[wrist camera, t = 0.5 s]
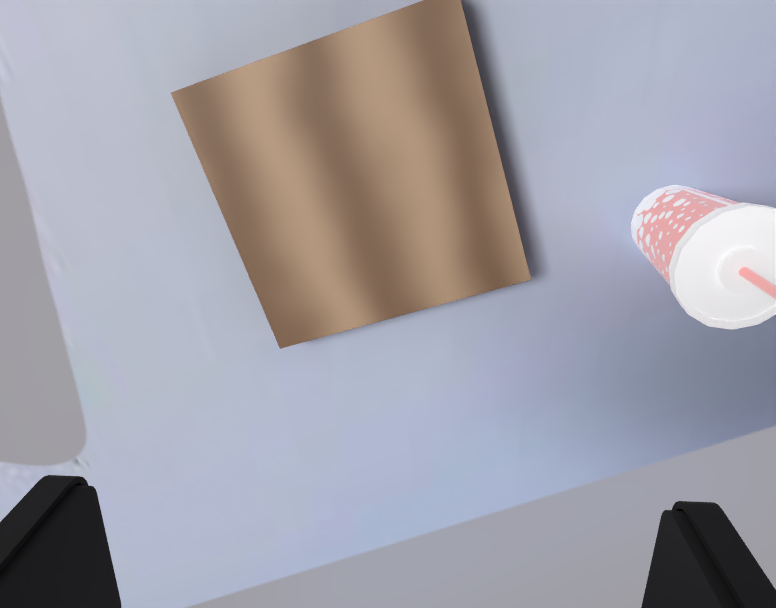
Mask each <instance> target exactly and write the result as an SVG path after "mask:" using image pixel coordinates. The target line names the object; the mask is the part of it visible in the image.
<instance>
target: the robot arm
mask: <svg viewBox="0 0 776 608" xmlns="http://www.w3.org/2000/svg"><path fill="white" fill-rule="evenodd" d="M0 608H121V600H120V596H119V591H118V587H117V582H116V578H115V573H114V569H113V564H112V560H111V555H110V551H109V546H108V542H107V537H106V532H105V528H104V523H103V519H102V514H101V510H100V505H99V501H98V496H97V492H96V490H95V488H94V487H93V486H88V483H87V481H86V480H85V479H84V478H83V477H80V476H57V475H48V476H45V477H43V478H42V479H41V480H39V481H38V482H37V483H36V484H35V486H34V487H33V488H32V489H31V490H30V491H29V492H28V493H27V494H26V495H25V496H24V497H23V498H22V500H21V501H20V502H19V503H18V504H17V505H16V506H15V507H14V508H13V509H12V510H11V511H10V512H9V514H8V515H7V516H6V517H5V518H4V519H3V520H2V521H1V522H0ZM641 608H776V590H775V588H774V587H773V585H772V584H771V583H770V581H769V579H768V578H767V576H766V575H765V573H764V572H763V570H762V569H761V567H760V566H759V564H758V563H757V561H756V560H755V558H754V557H753V555H752V554H751V552H750V551H749V549H748V548H747V546H746V545H745V543H744V542H743V540H742V539H741V537H740V536H739V534H738V533H737V531H736V530H735V528H734V527H733V525H732V523H731V522H730V521H729V519H728V518H727V516H726V515H725V513H724V511H723V510H722V509H721V508H720V506H719V505H718V504H716V503H711V502H687V501H685V502H684V501H678V502H676V503H675V504H674V506H673V508H672V510H665V511H664V512H663V513H662V516H661V520H660V525H659V530H658V534H657V538H656V543H655V548H654V552H653V557H652V561H651V566H650V571H649V576H648V580H647V584H646V589H645V594H644V598H643V603H642V607H641Z"/></svg>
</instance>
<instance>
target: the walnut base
mask: <svg viewBox="0 0 776 608" xmlns="http://www.w3.org/2000/svg"><path fill="white" fill-rule="evenodd" d="M171 95H172V97H173V99H174V102H175V104H176V106H177V109H178V111H179V113H180V116H181V118H182V120H183V123H184V125H185V127H186V130H187V132H188V134H189V137H190V139H191V141H192V144H193V146H194V148H195V151H196V153H197V155H198V158H199V160H200V162H201V165H202V167H203V169H204V172H205V174H206V176H207V179H208V181H209V183H210V186H211V188H212V191H213V193H214V195H215V198H216V200H217V202H218V205H219V207H220V209H221V212H222V214H223V216H224V219H225V221H226V223H227V226H228V228H229V230H230V233H231V235H232V237H233V240H234V242H235V244H236V247H237V249H238V251H239V254H240V256H241V258H242V261H243V263H244V265H245V268H246V270H247V272H248V275H249V277H250V279H251V282H252V284H253V286H254V289H255V291H256V293H257V296H258V298H259V300H260V303H261V305H262V308H263V310H264V312H265V315H266V317H267V319H268V322H269V324H270V326H271V329H272V331H273V333H274V336H275V338H276V340H277V343H278V345H279V347H280V348H284V347H288V346H291V345H295V344H299V343H302V342H306V341H310V340H313V339H317V338H321V337H324V336H328V335H331V334H335V333H339V332H342V331H346V330H350V329H353V328H357V327H361V326H364V325H368V324H372V323H375V322H379V321H383V320H386V319H390V318H393V317H397V316H401V315H404V314H408V313H412V312H415V311H419V310H423V309H426V308H430V307H434V306H437V305H441V304H444V303H448V302H452V301H455V300H459V299H463V298H466V297H470V296H474V295H477V294H481V293H485V292H488V291H492V290H496V289H499V288H503V287H506V286H510V285H514V284H517V283H521V282H525V281H528V280H531V277H530V273H529V269H528V265H527V261H526V257H525V253H524V249H523V245H522V241H521V237H520V234H519V230H518V226H517V222H516V218H515V214H514V210H513V206H512V202H511V198H510V194H509V190H508V186H507V182H506V178H505V174H504V170H503V166H502V162H501V158H500V154H499V150H498V146H497V142H496V138H495V134H494V130H493V126H492V122H491V118H490V114H489V110H488V106H487V102H486V98H485V94H484V90H483V86H482V82H481V78H480V74H479V71H478V67H477V63H476V59H475V55H474V51H473V47H472V43H471V39H470V35H469V31H468V27H467V23H466V19H465V15H464V11H463V7H462V3H461V0H424V1H421V2H418V3H415V4H413V5H410V6H407V7H404V8H402V9H399V10H396V11H393V12H391V13H388V14H385V15H382V16H380V17H377V18H374V19H371V20H369V21H366V22H363V23H361V24H358V25H355V26H352V27H350V28H347V29H344V30H341V31H339V32H336V33H333V34H330V35H328V36H325V37H322V38H319V39H317V40H314V41H311V42H308V43H306V44H303V45H300V46H298V47H295V48H292V49H289V50H287V51H284V52H281V53H278V54H276V55H273V56H270V57H267V58H265V59H262V60H259V61H256V62H254V63H251V64H248V65H245V66H243V67H240V68H237V69H235V70H232V71H229V72H226V73H224V74H221V75H218V76H215V77H213V78H210V79H207V80H204V81H202V82H199V83H196V84H193V85H191V86H188V87H185V88H182V89H180V90H177V91H174V92H172V93H171Z"/></svg>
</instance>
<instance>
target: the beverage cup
mask: <svg viewBox="0 0 776 608" xmlns="http://www.w3.org/2000/svg"><path fill="white" fill-rule="evenodd" d="M631 229H632V237H633V240H634V241H635V243H636V244H637V246H638V248H639V249H640V250H641V252H642V253H643V254H644V255H645V256H646V257H647V259H648V260H649V261H650V262H651V263H652V265H653V266H654V267H655V268H656V269H657V270H658V272H659V273H660V274H661V275H662V276H663V278H664V279H665V280H666V281H667V282H668V283H669V285H670V286H671V291H672V292H673V294H674V296H675V297H676V299H677V300H678V302H679V303H680V305H681V306H682V308H683V309H684V310H685V311H686V313H687V314H688V315H690V316H692V317H693V318H695V319H697V320H698V321H700V322H702V323H703V324H705V325H707V326H710V327H717V328H724V329H731V330H733V329H738V328H743V327H748V326H753V325H758V324H760V323H762V322H763V321H765V320H767V319H769V318H771V317H772V316H774V315H776V208H772V207H770V206H765V205H758V204H751V203H744V202H743V203H739V202H736V201H733V200H729V199H726V198H723V197H720V196H716V195H713V194H710V193H707V192H704V191H700V190H697V189H694V188H691V187H686V186H679V185H671V186H667V187H663V188H659V189H657V190H656V191H654V192H653V193H651V194H649V195H648V196H646V197H645V198H644V199H643V201H642V202H641V203H640V205H639V206H638V207H637V208H636V210H635V212H634V216H633V219H632V223H631Z"/></svg>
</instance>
